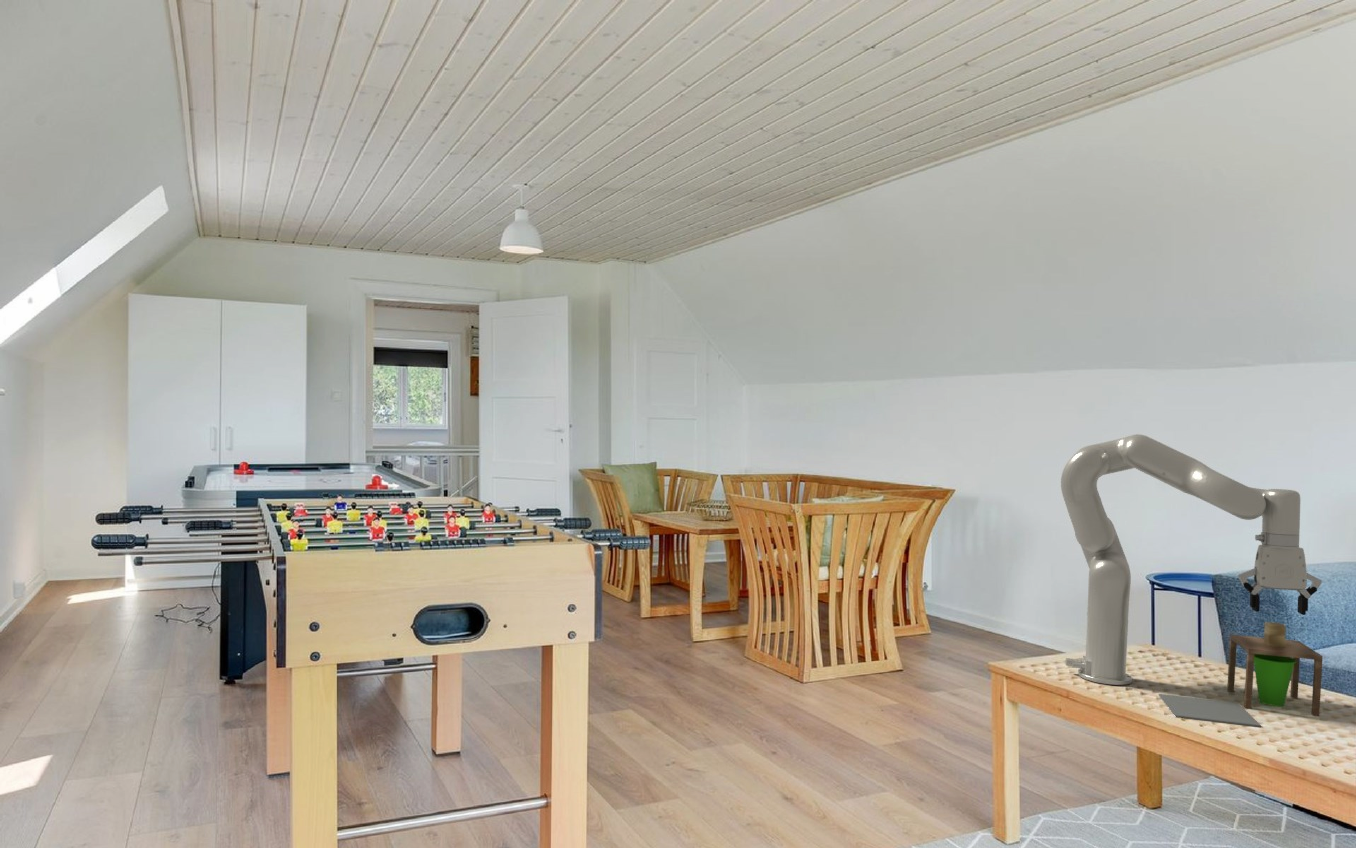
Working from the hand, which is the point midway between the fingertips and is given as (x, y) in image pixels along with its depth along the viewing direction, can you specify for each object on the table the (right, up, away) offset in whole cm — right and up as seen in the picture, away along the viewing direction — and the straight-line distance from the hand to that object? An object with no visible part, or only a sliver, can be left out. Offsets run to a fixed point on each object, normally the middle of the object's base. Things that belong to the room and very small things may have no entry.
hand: (1278, 612), depth 221 cm
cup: (-1, -22, +1) cm, 22 cm away
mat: (-21, -21, -8) cm, 31 cm away
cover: (-1, -22, +1) cm, 22 cm away
